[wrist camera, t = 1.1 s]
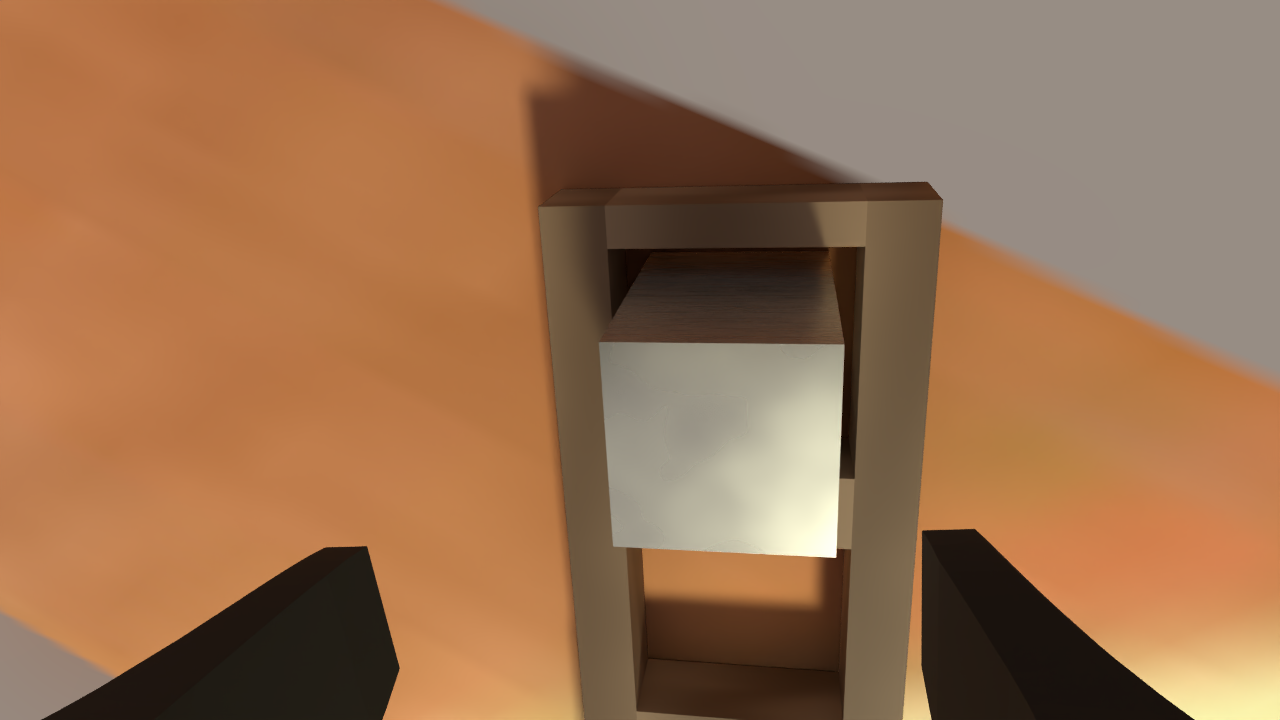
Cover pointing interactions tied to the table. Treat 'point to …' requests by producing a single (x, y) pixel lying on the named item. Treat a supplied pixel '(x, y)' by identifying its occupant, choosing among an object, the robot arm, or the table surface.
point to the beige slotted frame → (869, 459)
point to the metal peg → (726, 404)
